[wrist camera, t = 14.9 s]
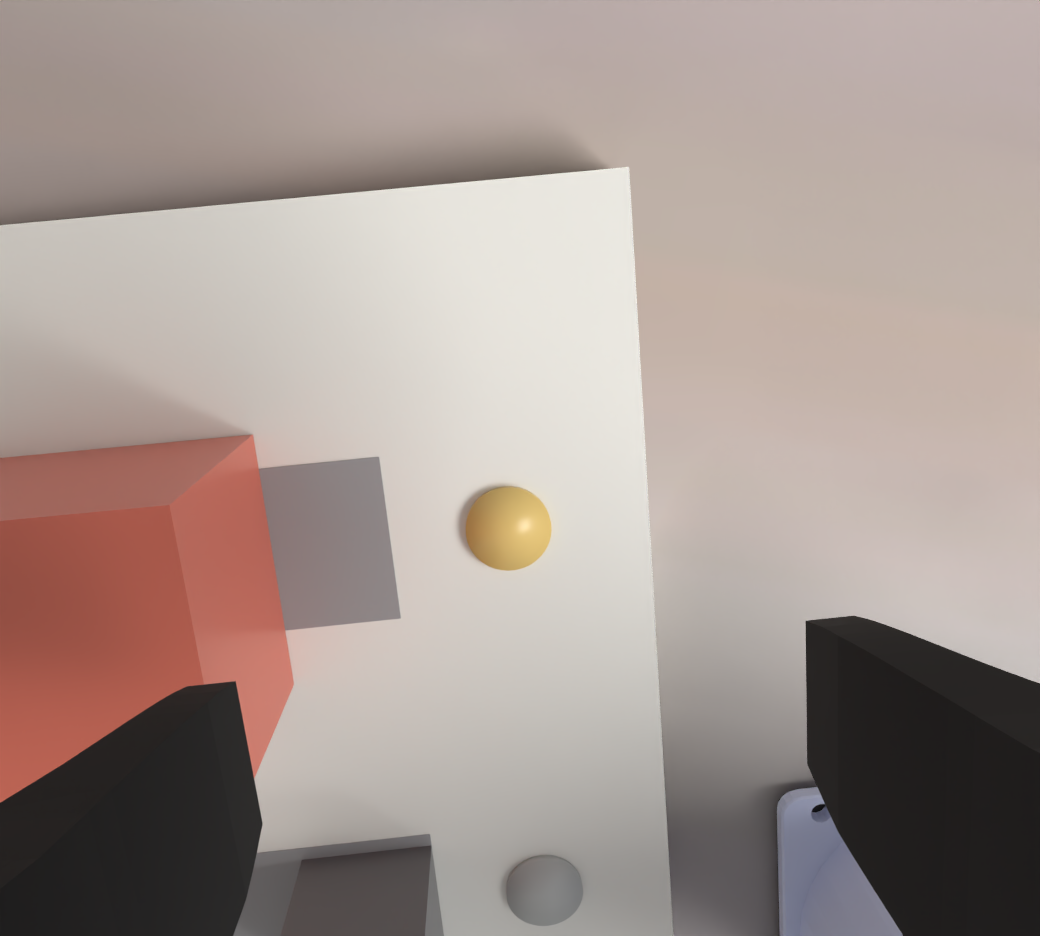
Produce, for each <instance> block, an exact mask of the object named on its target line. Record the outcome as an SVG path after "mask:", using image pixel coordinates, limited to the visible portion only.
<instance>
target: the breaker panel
mask: <svg viewBox="0 0 1040 936" xmlns="http://www.w3.org/2000/svg"><path fill="white" fill-rule="evenodd" d="M242 435H253V438H254V444H255V450H256V456H257V462H258V468H259V474H260V480H261V486H262V492H263V498H264V504H265V510H266V517H267V523H268V529H269V535H270V541H271V547H272V553H273V559H274V565H275V571H276V577H277V583H278V589H279V596H280V602H281V608H282V614H283V620H284V626H285V632H286V638H287V644H288V650H289V656H290V662H291V669H292V675H293V681H294V686H293V688H292V690H291V693H290V695H289V698H288V700H287V702H286V705H285V707H284V709H283V712H282V714H281V717H280V719H279V721H278V724H277V726H276V728H275V731H274V733H273V736H272V738H271V740H270V743H269V745H268V747H267V750H266V752H265V755H264V757H263V759H262V762H261V764H260V766H259V769H258V771H257V774H256V776H255V778H254V780H255V786H256V791H257V796H258V802H259V807H260V812H261V818H262V823H263V825H262V830H261V835H260V839H259V844H258V849H257V854H256V859H255V864H254V868H253V873H252V877H251V881H250V885H249V890H248V894H247V898H246V901H245V904H244V907H243V910H242V913H241V915H240V918H239V921H238V924H237V927H236V929H235V932H234V935H233V936H673V920H672V902H671V885H670V868H669V850H668V833H667V816H666V798H665V781H664V764H663V747H662V729H661V712H660V695H659V677H658V660H657V643H656V625H655V608H654V591H653V573H652V556H651V539H650V522H649V504H648V487H647V470H646V452H645V435H644V418H643V400H642V383H641V366H640V349H639V331H638V314H637V297H636V279H635V262H634V245H633V227H632V210H631V193H630V176H629V167H623V168H612V169H601V170H591V171H580V172H569V173H558V174H547V175H537V176H526V177H515V178H504V179H494V180H483V181H472V182H461V183H451V184H440V185H429V186H418V187H408V188H397V189H386V190H375V191H364V192H354V193H343V194H332V195H321V196H311V197H300V198H289V199H278V200H268V201H257V202H246V203H235V204H224V205H214V206H203V207H192V208H181V209H171V210H160V211H149V212H138V213H128V214H117V215H106V216H95V217H84V218H74V219H63V220H52V221H41V222H31V223H20V224H9V225H0V458H5V457H16V456H26V455H37V454H48V453H59V452H70V451H80V450H91V449H102V448H113V447H123V446H134V445H145V444H156V443H167V442H177V441H188V440H199V439H210V438H221V437H231V436H242Z"/></svg>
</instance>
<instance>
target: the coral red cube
mask: <svg viewBox="0 0 1040 936" xmlns="http://www.w3.org/2000/svg"><path fill="white" fill-rule="evenodd" d="M232 681H236V685H237V690H238V696H239V701H240V706H241V712H242V717H243V722H244V728H245V733H246V738H247V743H248V749H249V754H250V759H251V765H252V770H253V775H254V778H255V776H256V774H257V771H258V769H259V766H260V764H261V762H262V759H263V757H264V755H265V752H266V750H267V747H268V745H269V743H270V740H271V738H272V736H273V733H274V731H275V728H276V726H277V724H278V721H279V719H280V717H281V714H282V712H283V709H284V707H285V705H286V702H287V700H288V698H289V695H290V693H291V690H292V688H293V686H294V681H293V675H292V669H291V662H290V656H289V650H288V644H287V638H286V632H285V626H284V620H283V614H282V608H281V602H280V596H279V589H278V583H277V577H276V571H275V565H274V559H273V553H272V547H271V541H270V535H269V529H268V523H267V517H266V510H265V504H264V498H263V492H262V486H261V480H260V474H259V468H258V462H257V456H256V450H255V444H254V438H253V435H242V436H231V437H221V438H210V439H199V440H188V441H177V442H167V443H156V444H145V445H134V446H123V447H113V448H102V449H91V450H80V451H70V452H59V453H48V454H37V455H26V456H16V457H5V458H0V802H2V801H4V800H5V799H7V798H9V797H10V796H12V795H14V794H15V793H17V792H18V791H20V790H22V789H23V788H25V787H27V786H28V785H30V784H31V783H33V782H35V781H36V780H38V779H40V778H41V777H43V776H44V775H46V774H48V773H49V772H51V771H53V770H54V769H56V768H57V767H59V766H61V765H62V764H64V763H65V762H67V761H68V760H70V759H71V758H73V757H74V756H76V755H77V754H79V753H80V752H82V751H83V750H85V749H86V748H88V747H90V746H91V745H93V744H94V743H96V742H97V741H99V740H100V739H102V738H103V737H105V736H106V735H108V734H109V733H111V732H112V731H114V730H115V729H117V728H118V727H120V726H121V725H123V724H124V723H126V722H127V721H129V720H130V719H132V718H133V717H135V716H136V715H138V714H140V713H141V712H143V711H144V710H146V709H147V708H149V707H150V706H152V705H154V704H155V703H157V702H158V701H160V700H162V699H163V698H165V697H167V696H169V695H170V694H172V693H174V692H176V691H178V690H180V689H182V688H184V687H187V686H194V685H204V684H213V683H223V682H232Z"/></svg>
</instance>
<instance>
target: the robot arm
mask: <svg viewBox="0 0 1040 936" xmlns="http://www.w3.org/2000/svg"><path fill="white" fill-rule="evenodd" d="M806 682H807V764H808V766H809V769H810V771H811V773H812V776H813V778H814V780H815V783H816V785H817V787H813V788H804V789H796V790H792V791H789V792H787V793H786V794H785V795H783V796H782V797H781V799H780V800H779V802H778V806H777V834H778V880H779V925H780V936H1040V683H1037V682H1034V681H1031V680H1028V679H1025V678H1023V677H1020V676H1017V675H1014V674H1012V673H1009V672H1006V671H1003V670H1001V669H998V668H995V667H993V666H990V665H987V664H985V663H982V662H980V661H977V660H975V659H972V658H969V657H967V656H964V655H962V654H959V653H957V652H954V651H951V650H949V649H946V648H944V647H941V646H939V645H936V644H934V643H931V642H929V641H926V640H924V639H921V638H918V637H916V636H913V635H911V634H908V633H906V632H903V631H900V630H898V629H895V628H892V627H889V626H887V625H884V624H881V623H878V622H875V621H872V620H868V619H865V618H861V617H856V616H848V617H838V618H829V619H819V620H810V621H806ZM819 804H825V807H824V808H823V809H822V810H821V811H819V812H816V813H814V812H812V809H813V808H814V807H815V806H817V805H819ZM262 825H263V823H262V818H261V812H260V807H259V802H258V796H257V791H256V786H255V780H254V775H253V770H252V765H251V759H250V754H249V749H248V743H247V738H246V733H245V728H244V722H243V717H242V712H241V706H240V701H239V696H238V690H237V685H236V681H232V682H223V683H213V684H204V685H194V686H187V687H184V688H182V689H180V690H178V691H176V692H174V693H172V694H170V695H169V696H167V697H165V698H163V699H162V700H160V701H158V702H157V703H155V704H154V705H152V706H150V707H149V708H147V709H146V710H144V711H143V712H141V713H140V714H138V715H136V716H135V717H133V718H132V719H130V720H129V721H127V722H126V723H124V724H123V725H121V726H120V727H118V728H117V729H115V730H114V731H112V732H111V733H109V734H108V735H106V736H105V737H103V738H102V739H100V740H99V741H97V742H96V743H94V744H93V745H91V746H90V747H88V748H86V749H85V750H83V751H82V752H80V753H79V754H77V755H76V756H74V757H73V758H71V759H70V760H68V761H67V762H65V763H64V764H62V765H61V766H59V767H57V768H56V769H54V770H53V771H51V772H49V773H48V774H46V775H44V776H43V777H41V778H40V779H38V780H36V781H35V782H33V783H31V784H30V785H28V786H27V787H25V788H23V789H22V790H20V791H18V792H17V793H15V794H14V795H12V796H10V797H9V798H7V799H5V800H4V801H2V802H0V936H233V935H234V932H235V929H236V927H237V924H238V921H239V918H240V915H241V913H242V910H243V907H244V904H245V901H246V898H247V894H248V890H249V885H250V881H251V877H252V873H253V868H254V864H255V859H256V854H257V849H258V844H259V839H260V835H261V830H262Z"/></svg>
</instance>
